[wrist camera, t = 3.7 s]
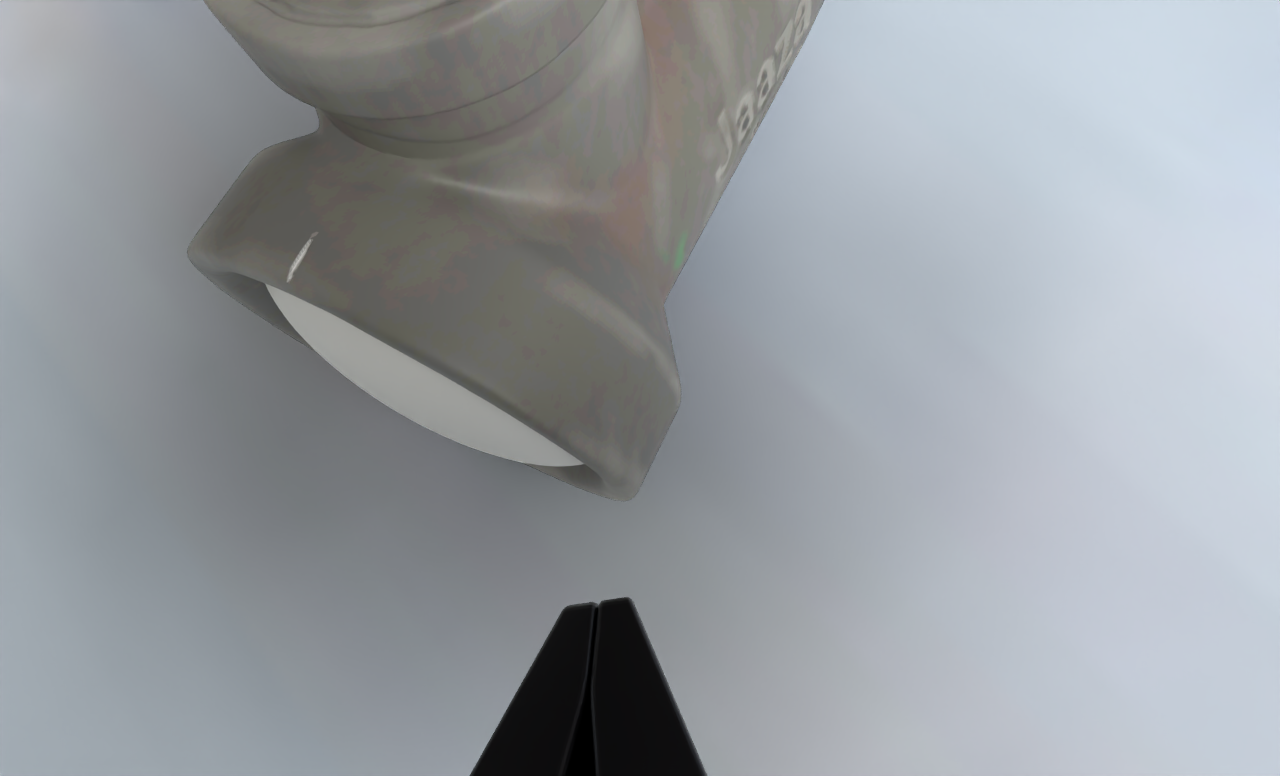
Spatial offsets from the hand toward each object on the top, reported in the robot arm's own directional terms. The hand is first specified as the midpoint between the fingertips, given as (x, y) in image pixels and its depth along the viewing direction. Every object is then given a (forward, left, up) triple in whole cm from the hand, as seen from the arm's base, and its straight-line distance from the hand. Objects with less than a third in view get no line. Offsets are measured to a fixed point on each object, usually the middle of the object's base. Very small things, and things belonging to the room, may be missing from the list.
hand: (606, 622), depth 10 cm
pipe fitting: (+7, -5, -7) cm, 11 cm away
